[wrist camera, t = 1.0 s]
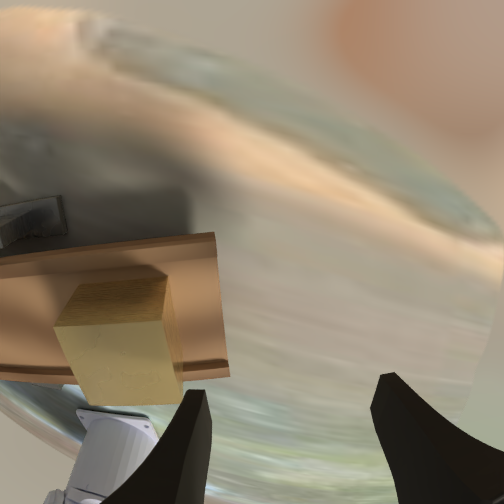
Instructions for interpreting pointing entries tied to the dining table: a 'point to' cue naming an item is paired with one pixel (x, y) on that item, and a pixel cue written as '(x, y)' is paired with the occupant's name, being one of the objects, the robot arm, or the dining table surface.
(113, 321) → the block
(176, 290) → the beam
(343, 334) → the dining table surface
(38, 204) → the stand
